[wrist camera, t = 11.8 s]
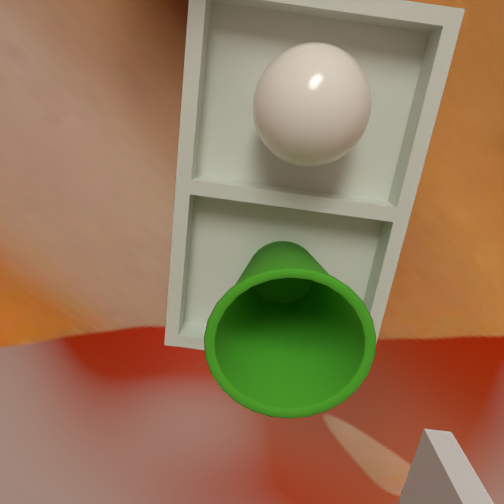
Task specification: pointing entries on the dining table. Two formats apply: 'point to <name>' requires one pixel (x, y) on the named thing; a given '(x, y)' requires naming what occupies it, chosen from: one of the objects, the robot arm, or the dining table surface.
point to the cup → (289, 336)
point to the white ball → (312, 104)
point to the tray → (290, 176)
